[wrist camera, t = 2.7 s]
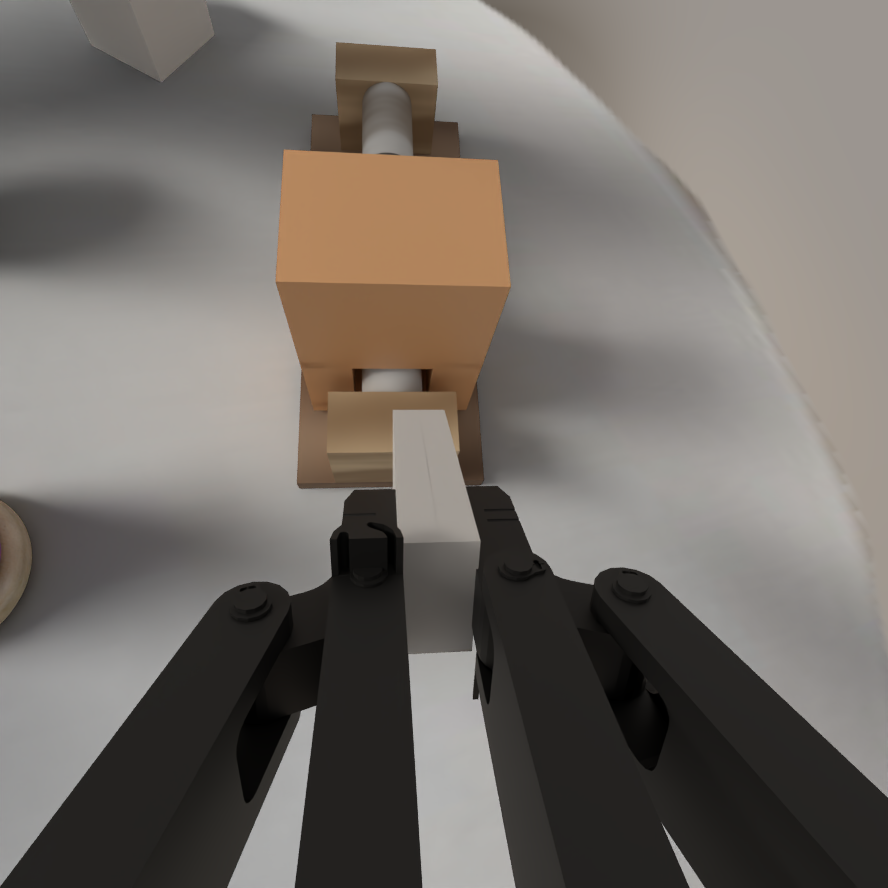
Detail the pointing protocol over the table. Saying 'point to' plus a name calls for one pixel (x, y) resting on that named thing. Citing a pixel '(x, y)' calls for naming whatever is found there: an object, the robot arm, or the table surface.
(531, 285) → the table surface
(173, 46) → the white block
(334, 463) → the pipe stand
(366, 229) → the wooden block
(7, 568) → the stacking toy
